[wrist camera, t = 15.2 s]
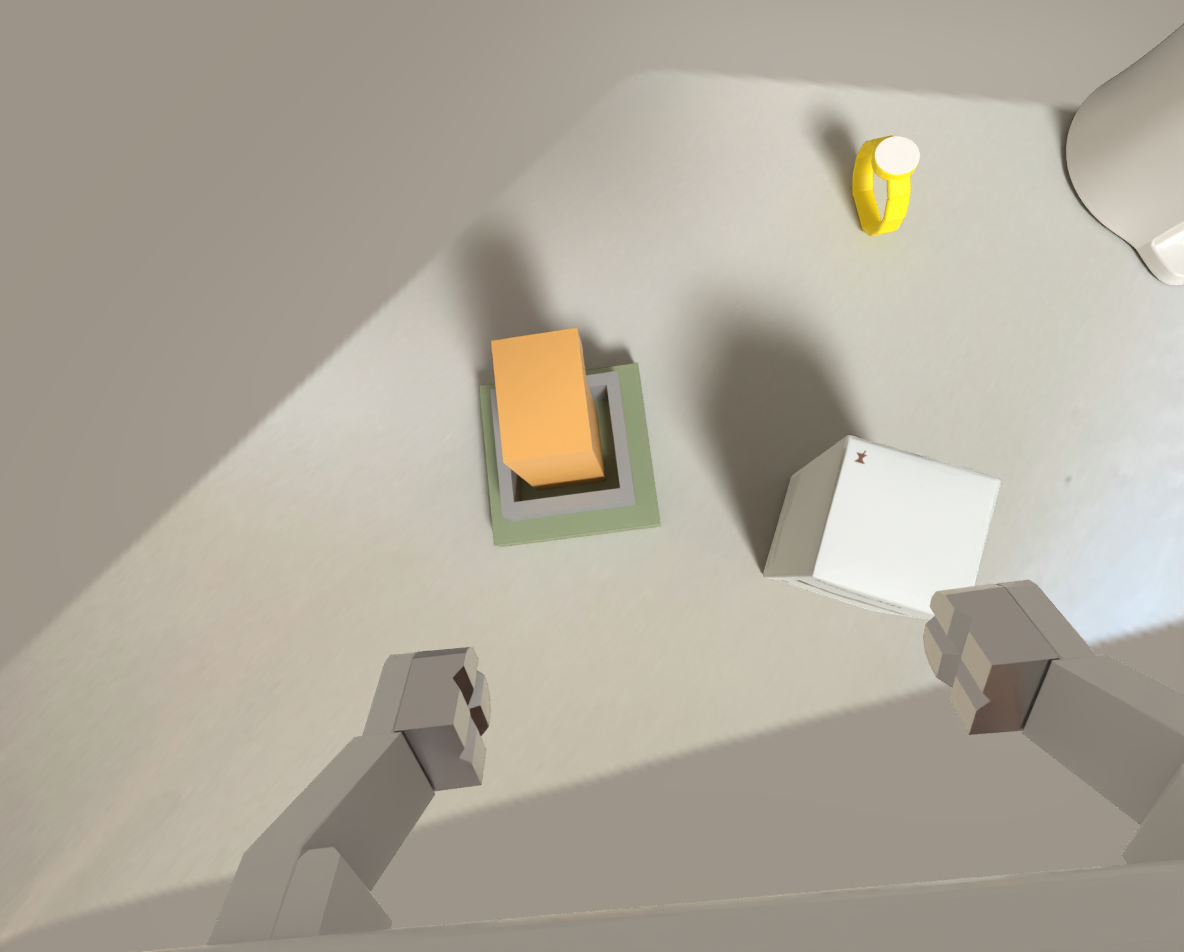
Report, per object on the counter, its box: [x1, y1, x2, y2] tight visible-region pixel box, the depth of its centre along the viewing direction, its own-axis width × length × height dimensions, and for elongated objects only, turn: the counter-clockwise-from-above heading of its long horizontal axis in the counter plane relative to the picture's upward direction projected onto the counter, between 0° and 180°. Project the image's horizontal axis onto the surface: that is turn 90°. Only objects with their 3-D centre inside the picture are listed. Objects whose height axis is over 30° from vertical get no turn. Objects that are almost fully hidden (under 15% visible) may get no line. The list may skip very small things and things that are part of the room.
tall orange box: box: [491, 328, 606, 491], centre depth 38 cm, size 7×5×10 cm
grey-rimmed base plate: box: [479, 363, 660, 547], centre depth 42 cm, size 11×11×5 cm
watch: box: [852, 136, 920, 236], centre depth 43 cm, size 6×3×6 cm, turn 10°
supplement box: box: [763, 435, 1001, 619], centre depth 36 cm, size 7×7×13 cm
